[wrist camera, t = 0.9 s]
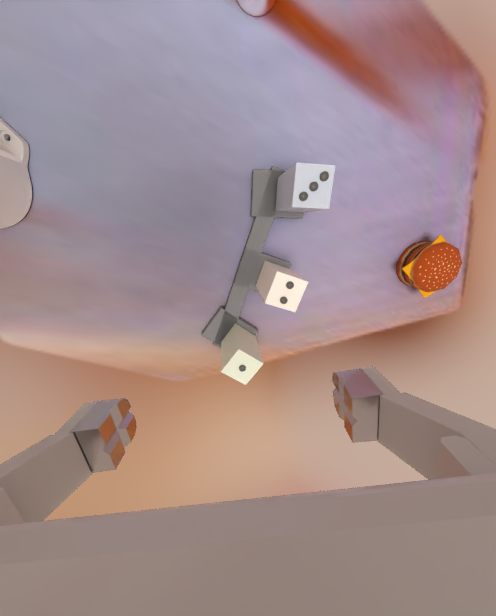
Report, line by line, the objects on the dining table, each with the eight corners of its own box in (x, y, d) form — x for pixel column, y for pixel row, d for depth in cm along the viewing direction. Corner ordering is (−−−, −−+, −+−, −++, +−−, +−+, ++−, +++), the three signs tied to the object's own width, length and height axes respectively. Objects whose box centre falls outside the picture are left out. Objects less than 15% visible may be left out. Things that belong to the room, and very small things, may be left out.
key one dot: (221, 341, 47) (220, 372, 37) (235, 323, 46) (238, 350, 36) (241, 353, 48) (245, 386, 39) (255, 335, 47) (263, 364, 38)
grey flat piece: (198, 342, 48) (198, 346, 47) (257, 153, 38) (259, 151, 36) (251, 355, 51) (252, 359, 49) (321, 181, 40) (324, 180, 39)
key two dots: (255, 285, 43) (265, 303, 34) (264, 260, 42) (277, 271, 32) (279, 293, 44) (295, 313, 35) (289, 268, 43) (309, 282, 33)
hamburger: (446, 260, 48) (480, 266, 42) (409, 294, 50) (436, 305, 44) (424, 228, 45) (456, 230, 39) (385, 266, 47) (410, 272, 41)
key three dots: (275, 210, 39) (292, 206, 30) (278, 177, 38) (297, 161, 28) (303, 212, 40) (329, 208, 30) (307, 179, 38) (336, 164, 28)
